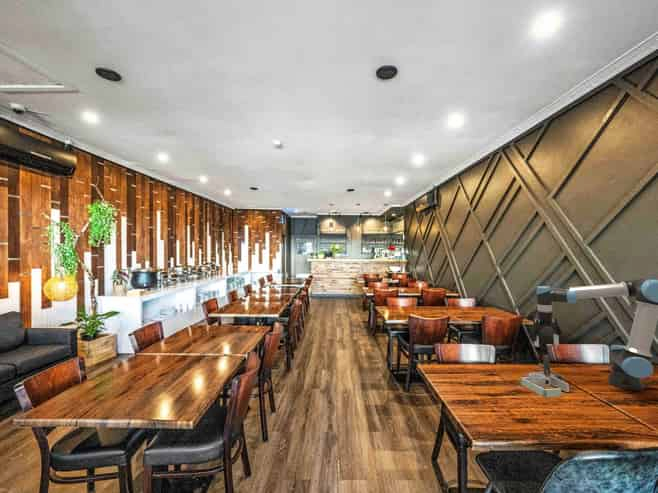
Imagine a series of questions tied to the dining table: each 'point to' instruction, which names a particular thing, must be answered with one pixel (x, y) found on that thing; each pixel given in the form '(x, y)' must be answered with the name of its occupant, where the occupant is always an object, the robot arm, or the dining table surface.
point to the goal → (537, 389)
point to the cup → (539, 379)
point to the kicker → (552, 377)
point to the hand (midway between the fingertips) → (546, 345)
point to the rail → (554, 374)
